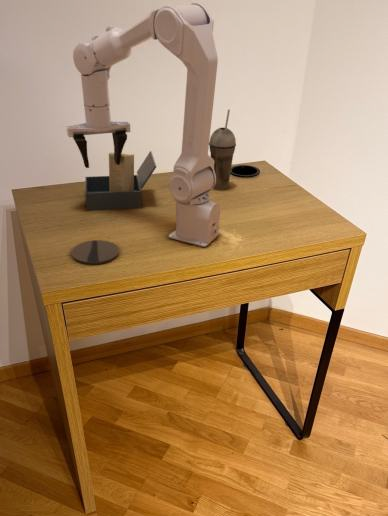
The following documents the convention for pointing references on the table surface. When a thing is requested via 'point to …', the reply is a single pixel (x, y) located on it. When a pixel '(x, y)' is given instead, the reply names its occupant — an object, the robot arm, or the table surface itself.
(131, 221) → the table surface
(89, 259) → the coaster
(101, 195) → the carton
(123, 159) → the box
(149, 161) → the flap
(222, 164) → the beverage cup
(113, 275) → the table surface
